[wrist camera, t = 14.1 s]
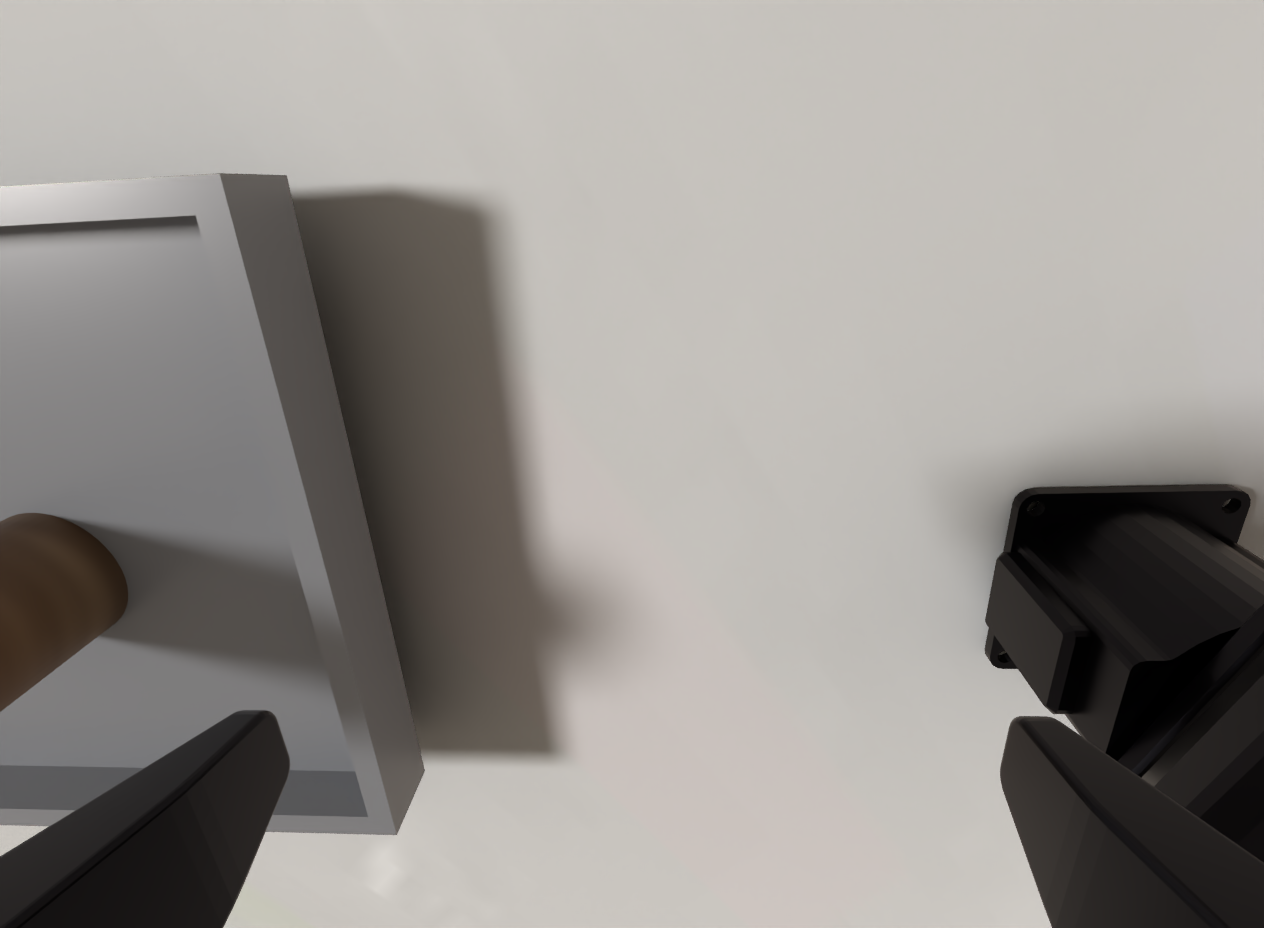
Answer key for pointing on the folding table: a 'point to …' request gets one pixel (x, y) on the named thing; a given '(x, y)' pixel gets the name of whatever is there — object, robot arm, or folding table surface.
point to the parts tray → (193, 498)
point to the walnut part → (51, 597)
